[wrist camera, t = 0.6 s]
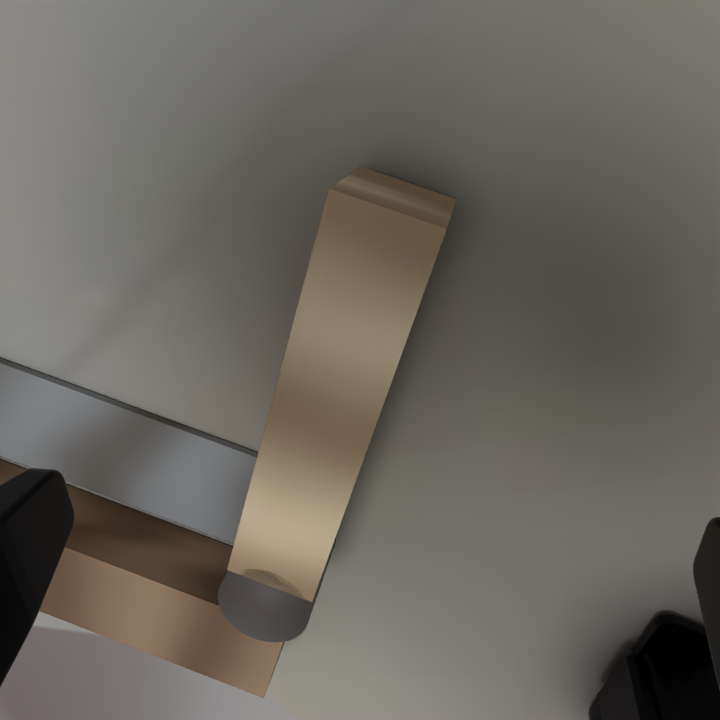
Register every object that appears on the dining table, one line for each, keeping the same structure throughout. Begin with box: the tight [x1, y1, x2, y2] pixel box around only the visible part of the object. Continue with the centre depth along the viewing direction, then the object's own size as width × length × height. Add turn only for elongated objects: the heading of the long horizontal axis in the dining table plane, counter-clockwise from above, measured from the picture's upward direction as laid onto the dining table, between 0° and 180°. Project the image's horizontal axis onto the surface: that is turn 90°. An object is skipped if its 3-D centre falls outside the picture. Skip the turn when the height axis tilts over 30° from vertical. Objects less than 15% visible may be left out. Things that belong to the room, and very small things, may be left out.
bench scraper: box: [0, 358, 285, 698], centre depth 26 cm, size 18×9×3 cm, turn 73°
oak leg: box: [218, 167, 456, 642], centre depth 21 cm, size 16×3×4 cm, turn 163°
